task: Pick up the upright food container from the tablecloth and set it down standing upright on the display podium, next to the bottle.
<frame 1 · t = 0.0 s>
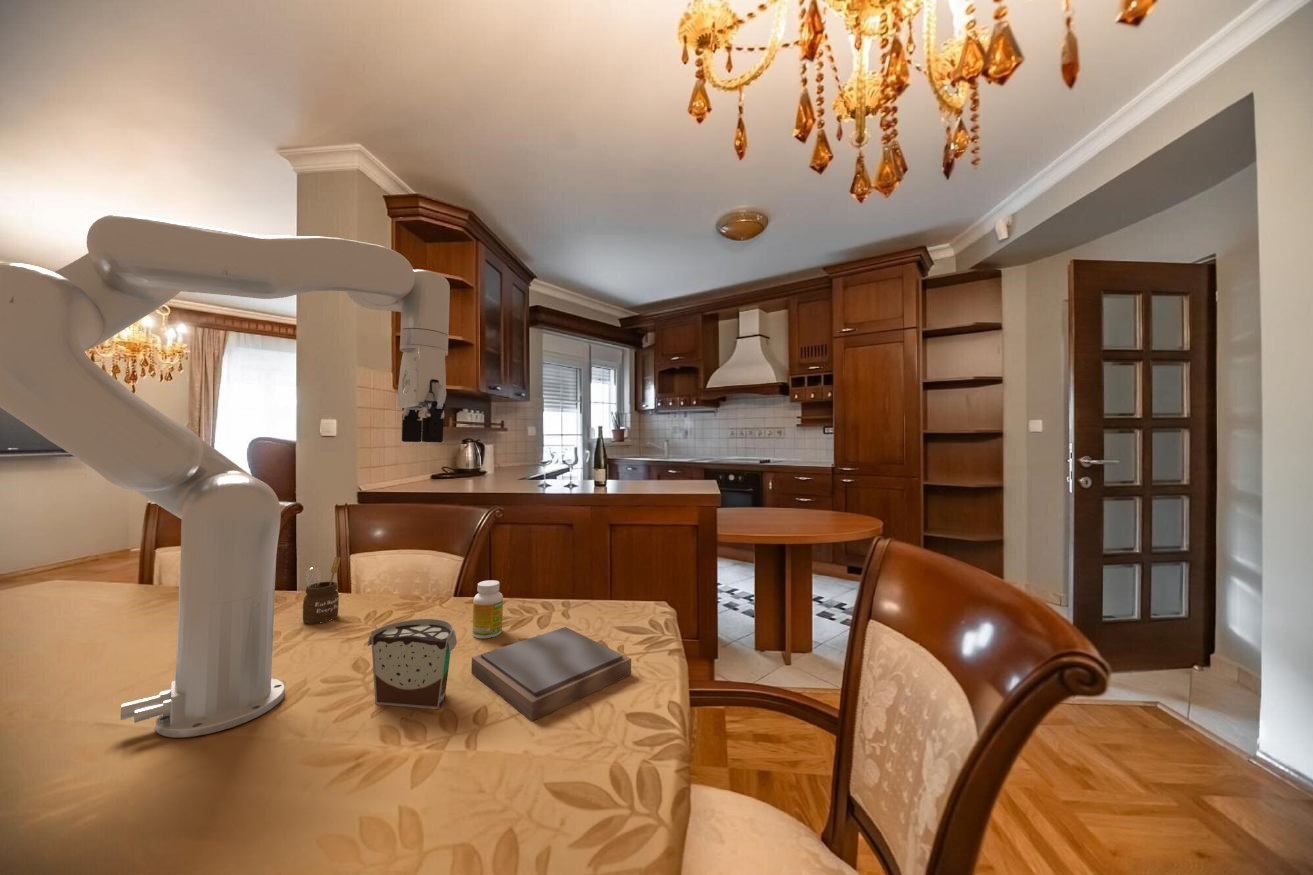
hand: (421, 442, 80), 37 cm above the table, tool pointing down, fingers open, 9 cm apart
food container: (420, 696, 66), on the table
podium: (551, 673, 73), on the table
supplement bottle: (487, 634, 88), on the table
utensil holder: (321, 619, 94), on the table
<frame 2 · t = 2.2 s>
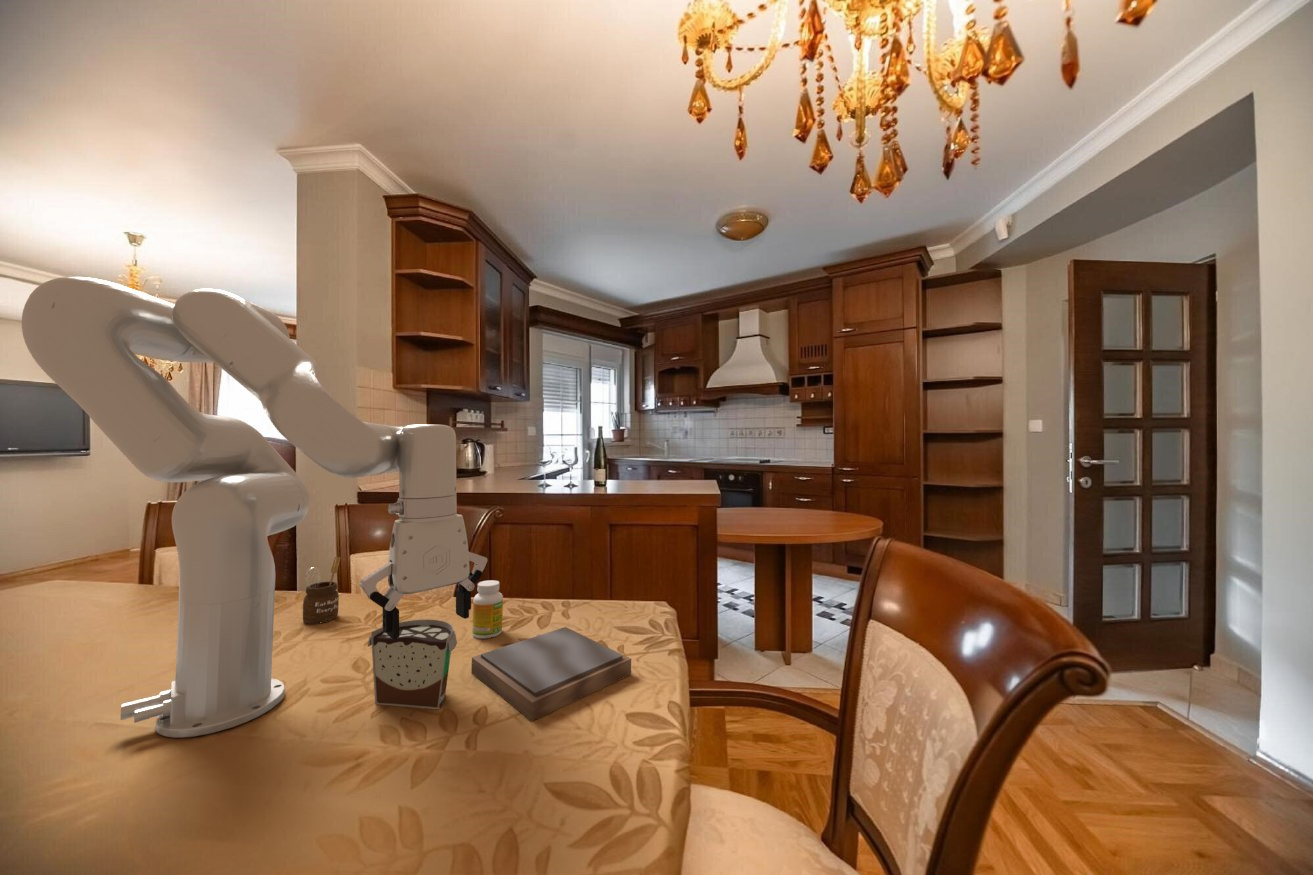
hand: (429, 625, 67), 10 cm above the table, tool pointing down, fingers open, 9 cm apart
food container: (420, 696, 66), on the table, touching gripper
everything else where it was.
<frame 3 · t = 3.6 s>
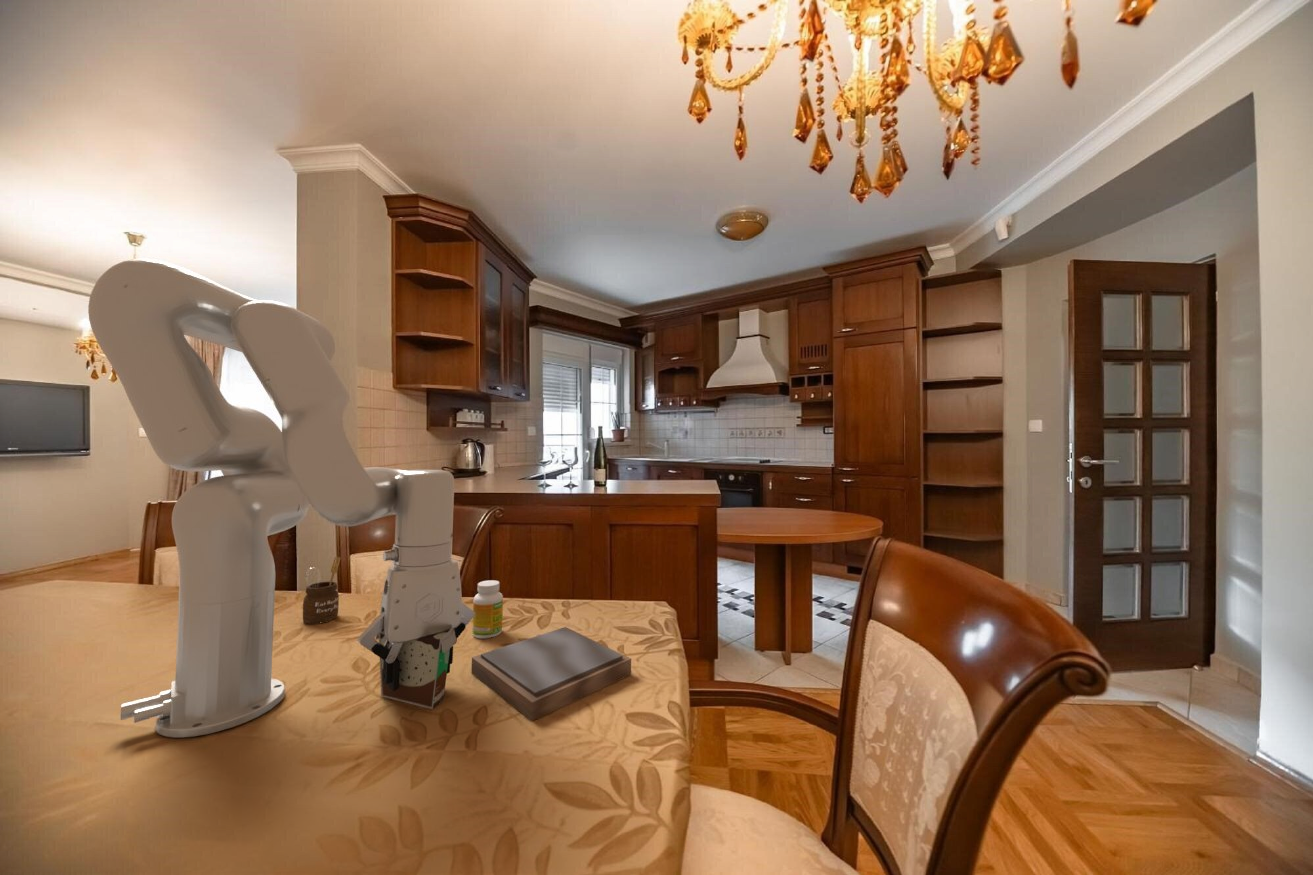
hand: (418, 677, 66), 2 cm above the table, tool pointing down, fingers closed on food container, 6 cm apart
food container: (423, 693, 67), on the table, touching gripper
everything else where it was.
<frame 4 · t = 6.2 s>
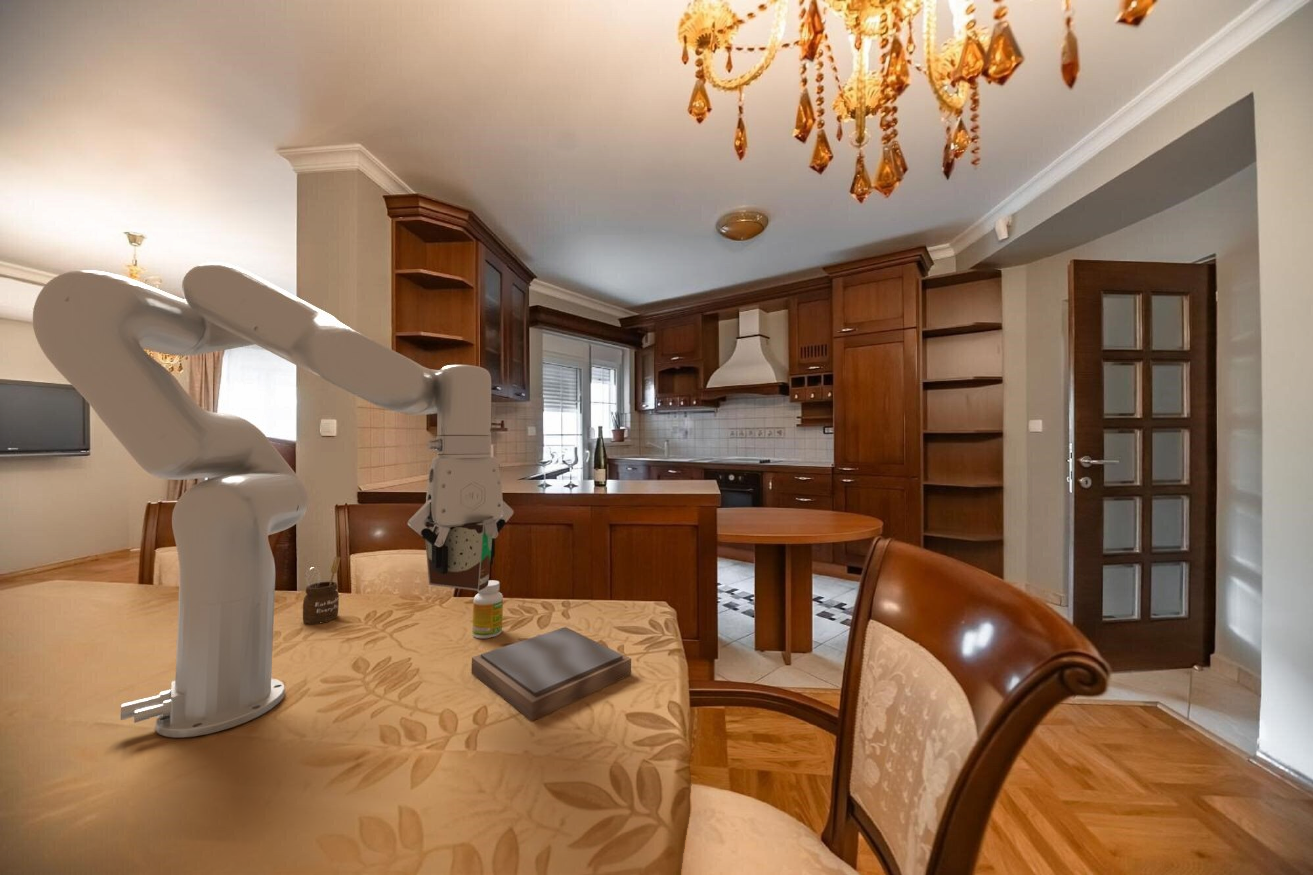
hand: (464, 566, 69), 18 cm above the table, tool pointing down, fingers closed on food container, 6 cm apart
food container: (468, 583, 69), point 15 cm above the table, touching gripper
everything else where it was.
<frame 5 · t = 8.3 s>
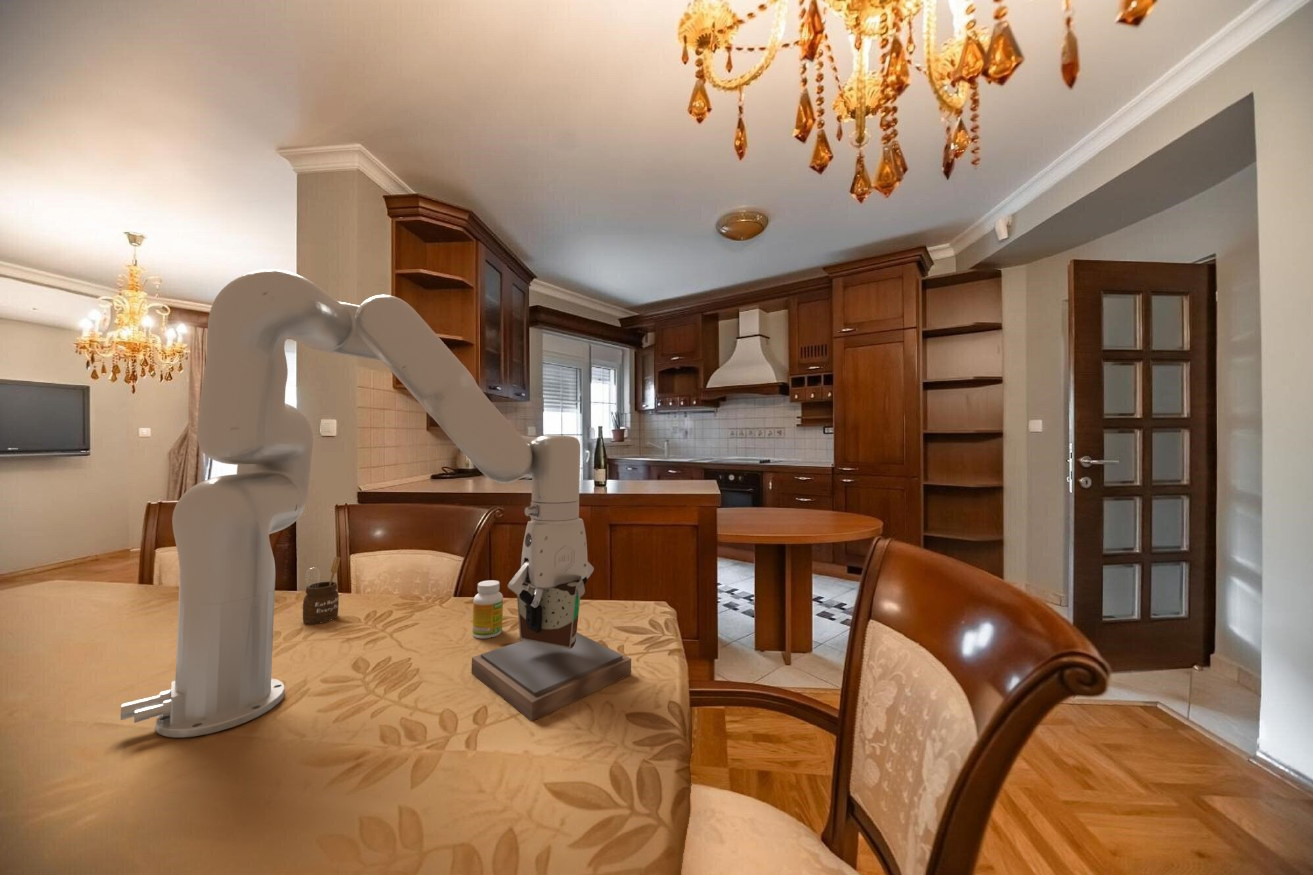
hand: (552, 623, 73), 8 cm above the table, tool pointing down, fingers closed on food container, 6 cm apart
food container: (555, 637, 74), point 5 cm above the table, touching gripper
everything else where it was.
when the fingers open (6 cm above the table, at t = 9.0 s): food container moves 1 cm, resting on podium.
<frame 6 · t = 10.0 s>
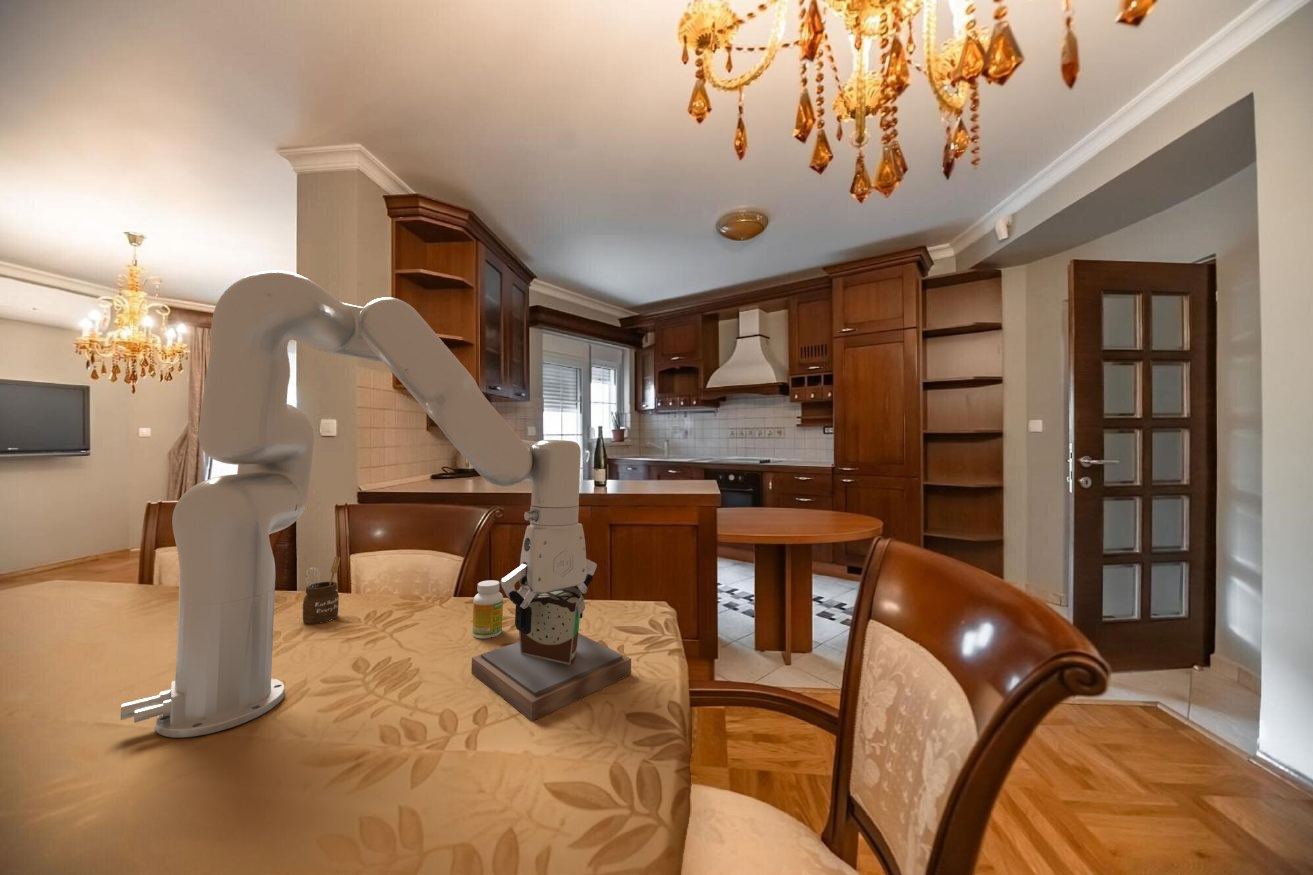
hand: (550, 623, 73), 8 cm above the table, tool pointing down, fingers open, 9 cm apart
food container: (556, 652, 75), point 3 cm above the table, touching gripper, podium
everything else where it was.
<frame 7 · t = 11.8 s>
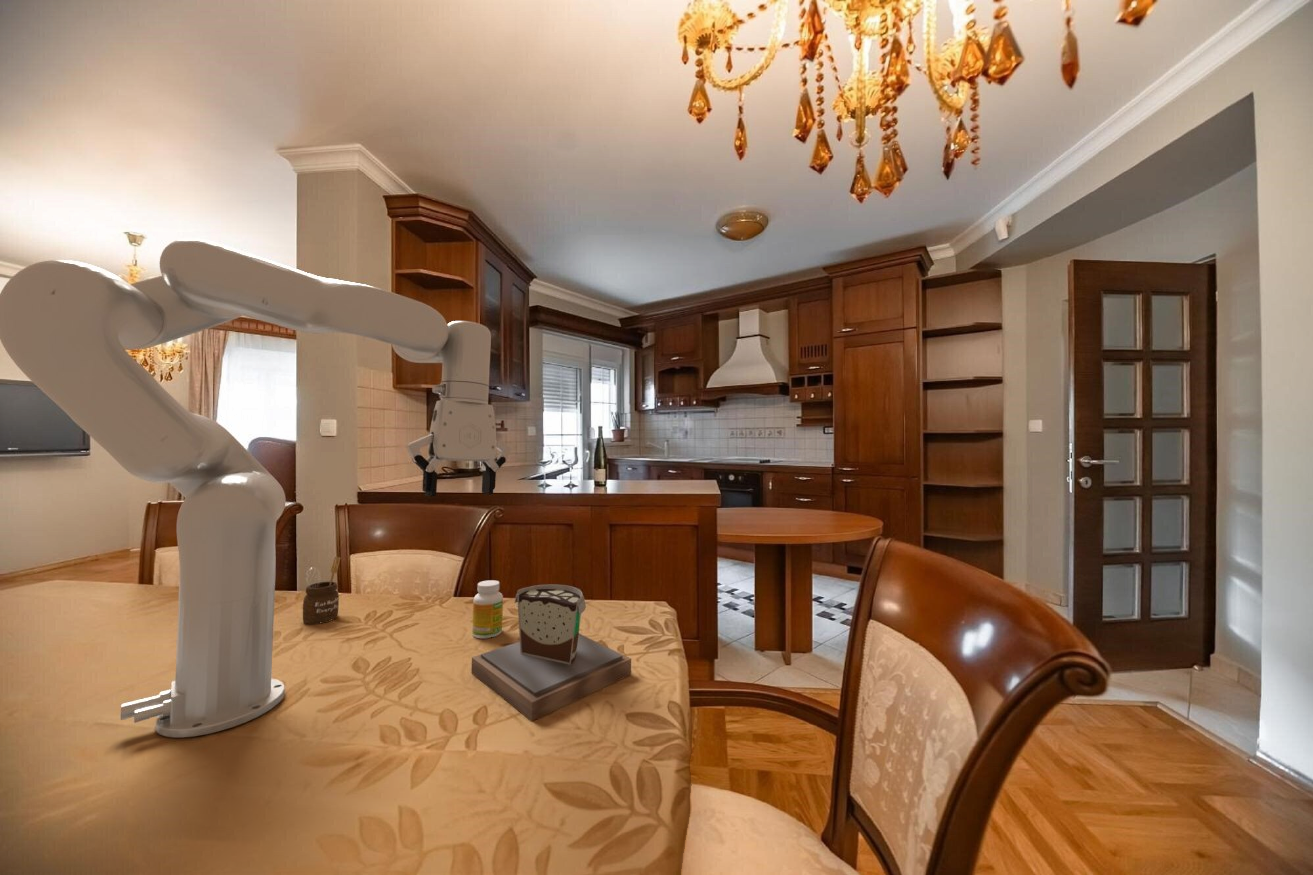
hand: (460, 494, 78), 28 cm above the table, tool pointing down, fingers open, 9 cm apart
food container: (556, 652, 75), point 3 cm above the table, touching podium
everything else where it was.
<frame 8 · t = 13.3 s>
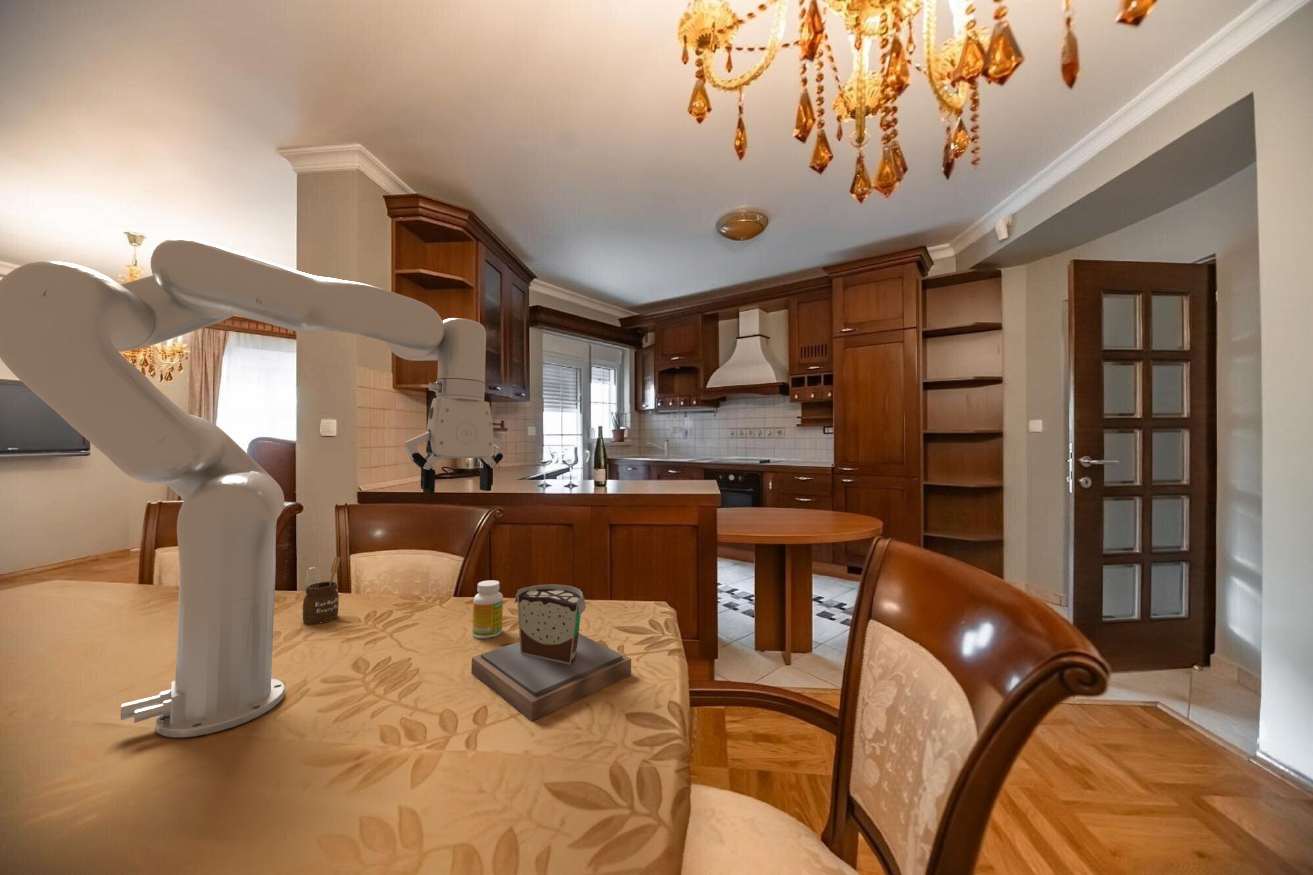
hand: (458, 491, 78), 28 cm above the table, tool pointing down, fingers open, 9 cm apart
nothing on the table moved.
at the end: food container inside the target area on the podium (1.3 cm from its centre), point 2.8 cm above the podium's base; food container tilted 0°; the gripper is holding nothing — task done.
